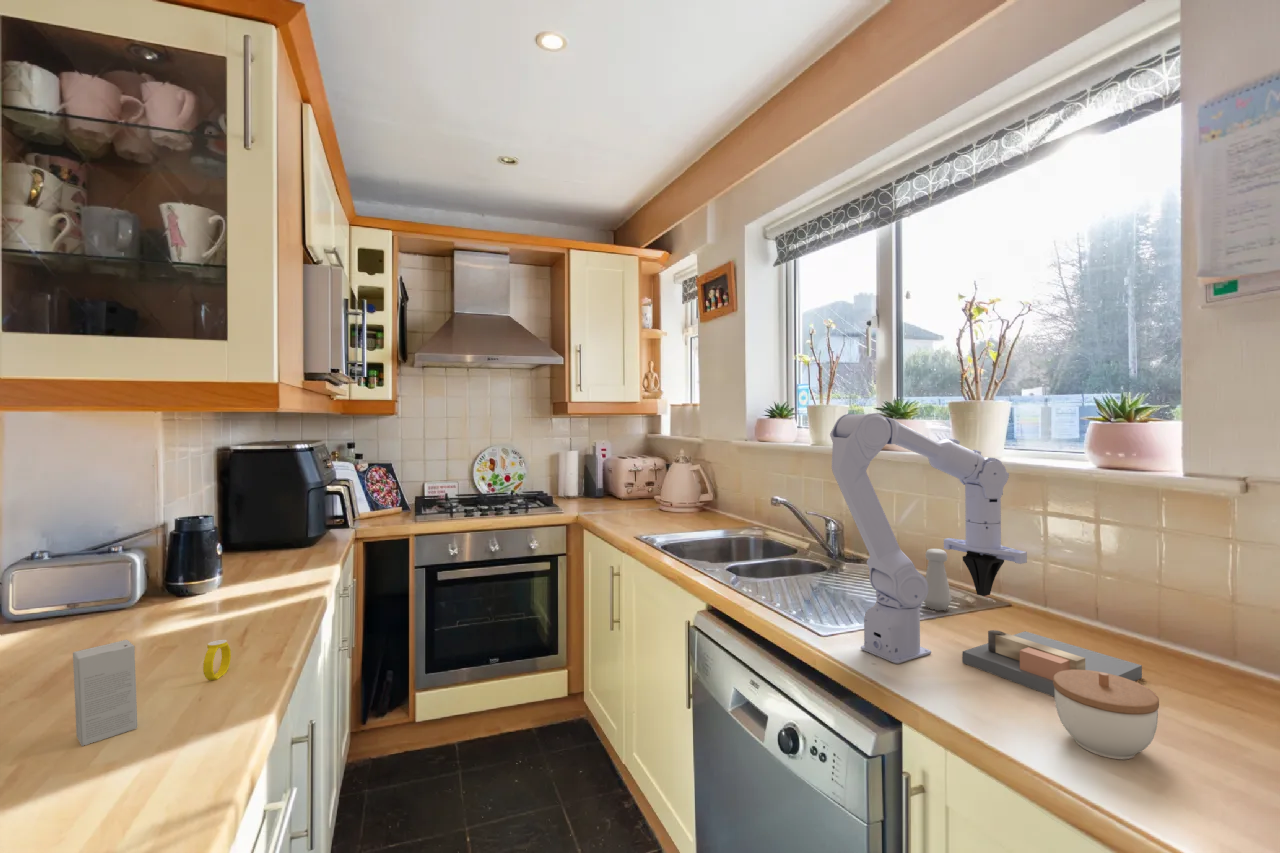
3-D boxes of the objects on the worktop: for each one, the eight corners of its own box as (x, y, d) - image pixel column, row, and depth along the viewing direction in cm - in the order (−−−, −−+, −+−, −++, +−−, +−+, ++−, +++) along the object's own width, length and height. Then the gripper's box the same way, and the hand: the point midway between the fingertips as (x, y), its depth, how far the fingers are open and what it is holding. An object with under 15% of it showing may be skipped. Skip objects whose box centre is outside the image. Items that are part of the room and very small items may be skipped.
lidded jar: (1111, 776, 70) (1110, 697, 70) (1033, 730, 81) (1032, 661, 81) (1182, 764, 72) (1182, 687, 72) (1098, 720, 83) (1097, 653, 83)
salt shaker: (948, 614, 128) (948, 553, 128) (919, 609, 132) (919, 550, 131) (953, 606, 133) (953, 548, 133) (925, 602, 136) (925, 545, 136)
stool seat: (1079, 706, 87) (1079, 672, 87) (962, 662, 103) (962, 634, 103) (1141, 677, 96) (1141, 646, 96) (1025, 641, 112) (1025, 615, 112)
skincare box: (131, 719, 87) (129, 638, 87) (137, 729, 84) (135, 645, 84) (74, 737, 82) (72, 651, 82) (79, 747, 80) (77, 658, 80)
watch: (218, 671, 104) (218, 637, 105) (235, 670, 105) (235, 636, 105) (198, 684, 98) (198, 647, 99) (216, 683, 99) (217, 646, 99)
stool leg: (984, 649, 103) (984, 631, 103) (994, 646, 104) (994, 629, 104) (1076, 680, 90) (1076, 661, 90) (1085, 677, 92) (1085, 657, 92)
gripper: (1036, 525, 106) (1037, 601, 106) (959, 514, 119) (959, 582, 119) (1013, 529, 103) (1014, 607, 103) (936, 517, 115) (937, 587, 116)
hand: (983, 594), depth 111 cm, fingers closed
